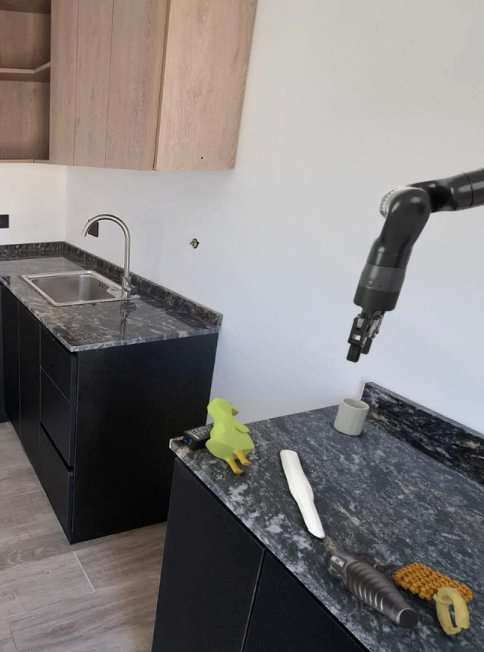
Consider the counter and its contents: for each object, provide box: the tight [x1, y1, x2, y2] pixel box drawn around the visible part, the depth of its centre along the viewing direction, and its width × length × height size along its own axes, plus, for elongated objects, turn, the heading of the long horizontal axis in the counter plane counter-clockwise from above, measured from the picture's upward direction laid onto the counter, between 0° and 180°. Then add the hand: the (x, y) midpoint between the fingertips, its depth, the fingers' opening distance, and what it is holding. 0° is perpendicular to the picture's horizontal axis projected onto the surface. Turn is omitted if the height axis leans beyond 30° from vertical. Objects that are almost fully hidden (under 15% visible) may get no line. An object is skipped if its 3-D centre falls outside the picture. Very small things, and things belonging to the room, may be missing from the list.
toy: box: [205, 397, 255, 475], centre depth 110 cm, size 6×17×20 cm
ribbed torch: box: [327, 549, 419, 629], centre depth 75 cm, size 9×13×3 cm
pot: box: [333, 397, 370, 436], centre depth 121 cm, size 6×6×8 cm
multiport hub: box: [182, 422, 214, 450], centre depth 115 cm, size 4×11×2 cm, turn 117°
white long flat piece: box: [279, 449, 326, 539], centre depth 99 cm, size 28×4×2 cm, turn 163°
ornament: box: [391, 562, 474, 635], centre depth 73 cm, size 7×10×15 cm
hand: (357, 356), depth 106 cm, fingers open, 7 cm apart
